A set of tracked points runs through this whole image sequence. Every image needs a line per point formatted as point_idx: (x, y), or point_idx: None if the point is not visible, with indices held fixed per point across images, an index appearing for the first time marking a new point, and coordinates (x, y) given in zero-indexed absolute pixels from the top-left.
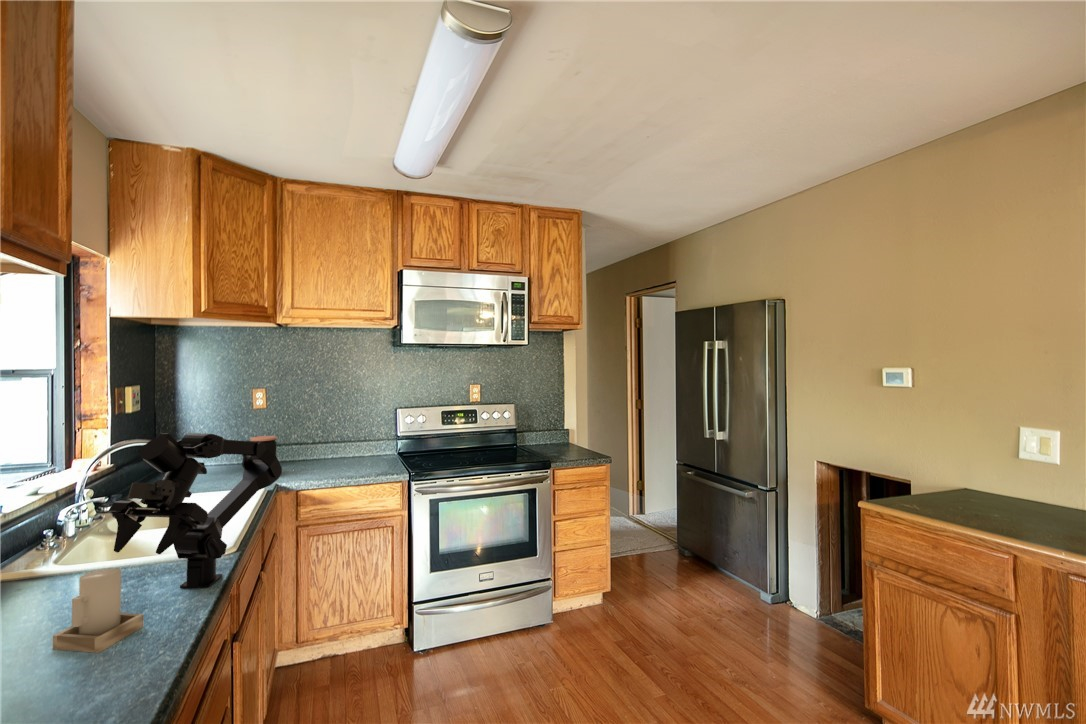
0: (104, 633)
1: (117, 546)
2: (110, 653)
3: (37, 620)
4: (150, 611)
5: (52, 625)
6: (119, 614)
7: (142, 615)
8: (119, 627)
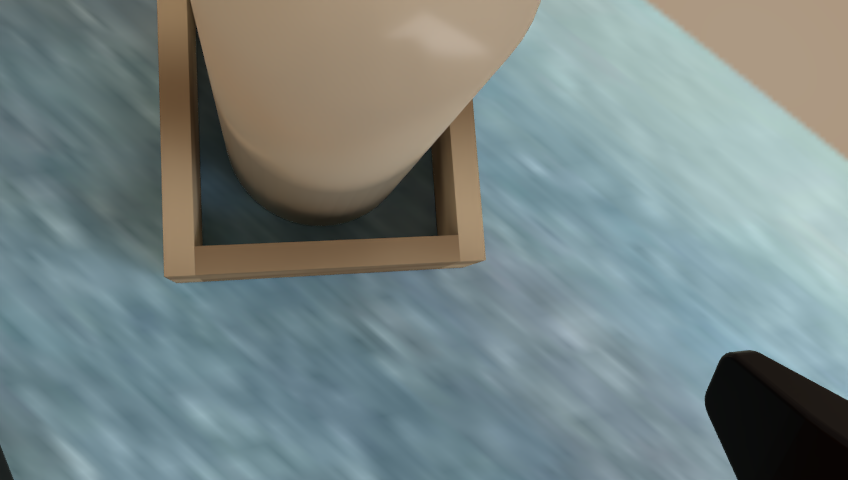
0: (184, 18)
1: (765, 390)
2: (94, 2)
3: (808, 243)
4: (322, 468)
5: (690, 213)
6: (231, 147)
7: (165, 270)
8: (160, 95)
